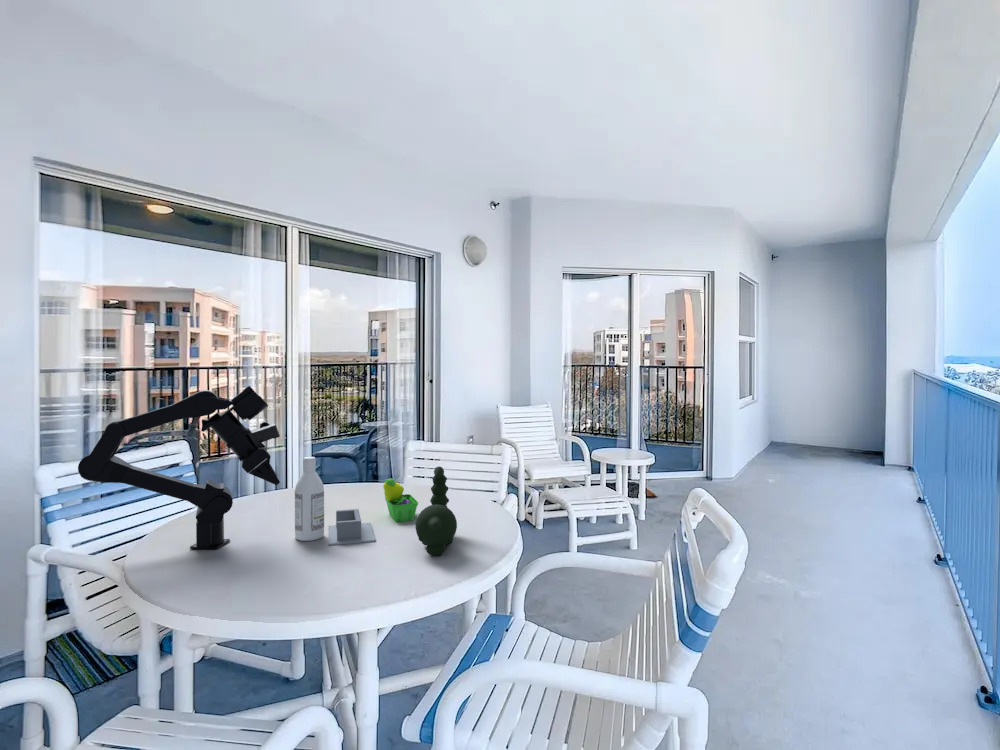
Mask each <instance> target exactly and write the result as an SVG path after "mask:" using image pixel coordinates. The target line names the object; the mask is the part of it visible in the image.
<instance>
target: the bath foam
mask: <svg viewBox="0 0 1000 750" xmlns="http://www.w3.org/2000/svg"><path fill="white" fill-rule="evenodd" d="M316 462H317V461H316V457H315V456H306V457H303V459H302V467H303V468H302V469H303V470H302V471H303V472H302V473H301V475H300V476H299V478H298V480H297V482H296V484H295V488H294V538H295V539H296V540H297V541H300V542H310V541H311V542H312V541H317V540H321V538H324V536H325V489H324V488H325V487H324V483H323V481H322V479H321V477H320V476H319V474H318V473H317V472H316V471H317V470H316Z"/></svg>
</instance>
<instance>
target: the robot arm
mask: <svg viewBox="0 0 1000 750" xmlns="http://www.w3.org/2000/svg"><path fill="white" fill-rule="evenodd" d="M229 407H230V408H229ZM268 407H269V404H268V403H267V402H266V401H265V399H263V398H262V397H261V395H260V394H257V392H256V391H255V390H254V389H253V388H252V387H251V385H248V386H246V387H245V388H244V389H243V390H242V391H240V392H239V393H238V394H237V395H235V396H234V397H233V398H232V399H229V398H228V397H226V398H225V397H221V396H217V394H216V393H215V392H213V391H211V390H209V389H204V390H199V391H197V392H195V393H193V394H191V395H189V396H187V397H185V398H183V399H181V400H179V401H177V402H175V403H173V404H170V405H167V406H163V407H160V408H156V409H154V410H151V411H148V412H144V413H141V414H138V415H134V416H132V417H128V418H124V419H121V420H115V421H113V422H109V424H108V425H106V426H105V429H104V431H103V433H102V435H101V436H100V438H99V440H98V441H97V443H96V444H95V446H94V448H93V449H92V450H91V452H90V453H89V454H87V455H86V456H85V457H83V458H82V459H81V460H80V461H79V463H78V466H77V472H78V473H79V476H80V478H81V479H84V480H86V481H88V482H89V481H90V482H96V483H97V482H98V483H104V484H105V483H106V484H107V483H110V484H126V485H129V486H132V487H135V488H136V487H137V488H140V489H143V490H146V491H149V492H154V493H157V494H161V495H165V496H168V497H172V498H174V499H179V500H182V501H187V502H188V503H190V504H192V505H194V506H195V507H196V512H195V513H196V514H195V519H196V522H195V523H196V524H195V525H196V527H195V528H196V529H195V530H196V531H195V538H196V540H195V541H196V542H195V543H194V544H192V545H190V546H189V549H191V550H193V549H195V550H196V549H197V550H218V549H219V548H221V547H223V546H225V545H226V544H228V543H229V542H231V539H230V538H225V519H224V517H225V516H224V515H225V514H227V513H228V512H229V511H230V510H231V509H232V508H233V503H234V502H233V493H232V491H231V489H230V488H228V487H227V486H225V483H223V482H221V483H220V482H216V481H213V480H211V479H206V481H205V484H203V483H202V484H201V483H193V482H189V481H186V480H183V479H180V478H176V477H173V476H169V475H165V474H161V473H158V472H156V471H152V470H149V469H146V468H141V467H138V466H135V465H133V464H130V463H128V462H127V461H126V460H124V459H122V458H120V457H119V456H117V455H116V453H117V452H118V449H119V448H120V446H121V443H122V442H123V440H124V439H125V437H129V436H131V435H134V434H137V433H140V432H143V431H146V430H149V429H153V428H156V427H160V426H162V425H166V424H168V423H171V422H175V421H179V420H185V419H193V418H200V417H207V416H210V415H212V414H213V415H212V416H211V417H209V418H208V419H204V418H203V419H201V428H200V431H201V432H205V431H207V430H208V429H210V428H211V429H212V431H213V432H214V433H215V435H217V436H218V438H220V439H221V441H223V443H224V444H225V446H226V447H227V448H228V449H230V451H232V453H233V454H235V456H236V457H237V459H238V460H239V461H240V462H241V468H242V469H243V470H244V471H245V472H246V474H249V475H251V476H254V477H257V478H259V479H261V480H264V481H265V482H268V483H271V484H272V485H275V486H277V485H279V484H280V483H281V481H280V479H279V478H278V476H277V473H276V472H275V470H274V468H273V466H272V465H271V457H272V456H271V454H270V453H269V451H268V449H267V447H266V445H265V444H264V442H267V441H270V440H272V439H277V438H280V437H281V435H280V432H279V430H278V427H277V425H276V423H269V422H267V421H262V422H260V424H259V428H256V429H254V430H250V428H248V427H245V425H244V424H243V423H242V422H241V421H240V419H241V420H242V421H244V420H247V419H248V420H249V421H251V420H253V419H254V418H255V417H256V416H258V415H259V414H260V413H262V412H263V411H265V409H267V408H268ZM220 410H226V411H224V412H223V413H220V412H218V411H220ZM216 411H217V412H216ZM232 411H233V412H234V413H235V414H236V415H235V414H234V413H233V412H232ZM215 412H216V413H215ZM214 413H215V414H214ZM236 416H238V417H239V418H240V419H238V418H237V417H236Z"/></svg>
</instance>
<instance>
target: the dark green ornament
mask: <svg viewBox="0 0 1000 750" xmlns="http://www.w3.org/2000/svg"><path fill="white" fill-rule="evenodd" d="M447 480H448V477H447V476H446V475H445V470H444V468H443V467H442V466H436V467H434V470H433V477H432V484H433V485H432V486H431V487H430V491H431V492H432V496H431V498H430V500H429V501H430V503H431V505H428V506H426V507H425V508H423V509H422V510H421V511H420V513H419V514H418V516H417V517H416V520H415V532H416V535H417V537H418V540H419V542H421V544H422V545H424V546H426V549H425V550H426V553H427V554H428V555H430V556H433V557H434V556H435V557H436V556H441V555H443V554H445V551H446V546H451V544H453V541H454V537H455V535H456V533H457V528H458V524H457V523H458V522H457V518H456V515H455V514H454V512H453V511H452V510H451V509H450V508H449V507H448V503H449V502H450V499H449V498H448V496H447V492H448V491H449V486H447V484H446V483H447Z"/></svg>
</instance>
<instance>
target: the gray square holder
mask: <svg viewBox="0 0 1000 750" xmlns="http://www.w3.org/2000/svg"><path fill="white" fill-rule="evenodd" d="M327 527H328V528H327V531H328V533H327V535H328V536H327V537H328V546H337V545H339V546H341V545H351V544H363V543H373V542H376V536H375V534H374V529H373V527H372V523H371V522H362V518H361V514H360V510H359V508H353V509H339V510H337V509H336V510H335V525H328V526H327Z"/></svg>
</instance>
